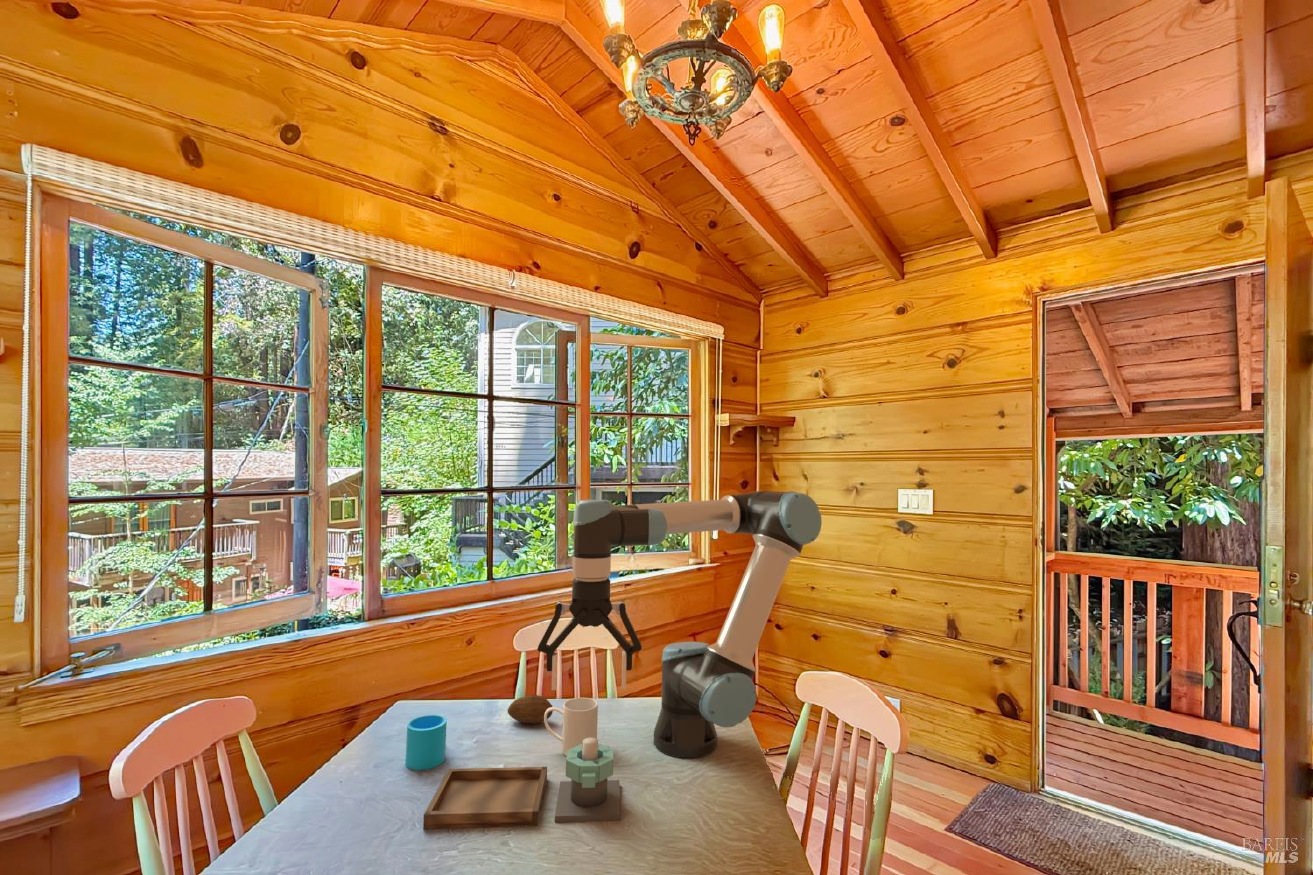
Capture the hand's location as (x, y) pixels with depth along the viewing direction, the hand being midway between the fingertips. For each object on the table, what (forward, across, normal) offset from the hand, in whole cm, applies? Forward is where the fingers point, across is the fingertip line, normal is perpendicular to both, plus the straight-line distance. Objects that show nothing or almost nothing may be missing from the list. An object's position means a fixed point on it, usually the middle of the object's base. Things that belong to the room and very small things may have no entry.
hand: (589, 687), depth 113 cm
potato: (+22, +16, -36) cm, 45 cm away
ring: (+16, 0, 0) cm, 16 cm away
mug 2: (+22, +5, -21) cm, 30 cm away
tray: (+22, +19, 0) cm, 28 cm away
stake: (+22, 0, 0) cm, 22 cm away
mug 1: (+22, +36, -19) cm, 46 cm away
